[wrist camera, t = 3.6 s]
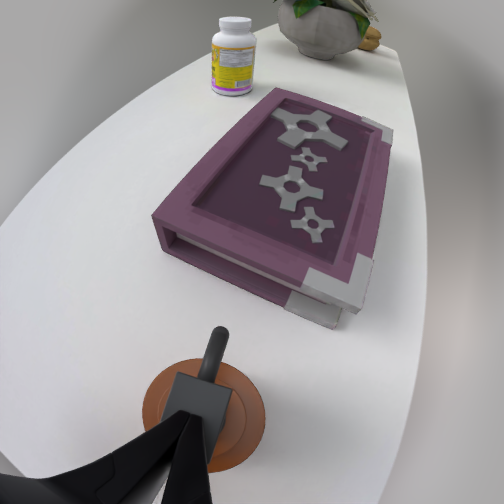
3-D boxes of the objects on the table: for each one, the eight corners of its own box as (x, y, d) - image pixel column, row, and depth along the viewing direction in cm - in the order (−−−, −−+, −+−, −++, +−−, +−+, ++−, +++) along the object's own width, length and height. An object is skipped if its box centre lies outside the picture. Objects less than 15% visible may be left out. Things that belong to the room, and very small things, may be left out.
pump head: (211, 457, 9) (209, 465, 8) (162, 441, 10) (151, 445, 8) (247, 342, 12) (249, 331, 11) (200, 328, 13) (196, 315, 11)
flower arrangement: (364, 84, 49) (391, -13, 29) (252, 55, 52) (262, -41, 31) (363, 58, 62) (382, -12, 42) (279, 36, 65) (289, -34, 44)
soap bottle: (241, 466, 16) (248, 493, 9) (154, 438, 16) (118, 449, 10) (265, 386, 19) (283, 373, 13) (181, 361, 20) (158, 335, 13)
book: (336, 331, 22) (361, 309, 17) (161, 251, 24) (150, 215, 20) (380, 158, 35) (393, 129, 30) (271, 116, 37) (276, 86, 33)
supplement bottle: (218, 79, 43) (220, 14, 33) (255, 84, 43) (262, 17, 32) (206, 95, 40) (206, 21, 29) (247, 99, 40) (253, 24, 29)
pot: (347, 47, 67) (353, 20, 59) (340, 38, 73) (345, 15, 65) (381, 57, 67) (388, 32, 59) (371, 47, 74) (377, 24, 65)
